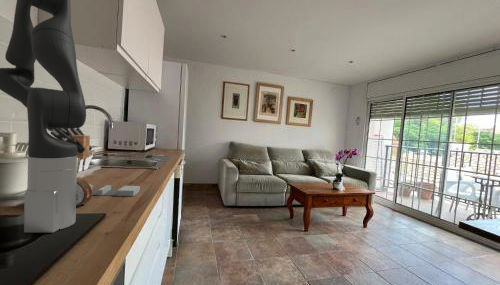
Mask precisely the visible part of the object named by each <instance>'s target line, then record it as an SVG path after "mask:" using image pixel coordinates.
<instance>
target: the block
mask: <svg viewBox="0 0 500 285" xmlns="http://www.w3.org/2000/svg"><path fill="white" fill-rule="evenodd" d="M74 138H75V139H76V140H77V142H79V143H80V144H81V145H82V146H83V147H84V148H85V151H84V152H82V153H79V152H78V151H77V159H87V158H89V157H90V151H89V146H91V145H90V144H91V143H90V142H91V141H90V140H91V139H90V138H91V136H90V135H85V134H84V135H74Z"/></svg>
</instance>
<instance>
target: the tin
mask: <svg viewBox="0 0 500 285" xmlns="http://www.w3.org/2000/svg"><path fill="white" fill-rule="evenodd" d="M90 185H91V184H90V183H89V182H88V181H86V180H85V179H83V178H79V177H77V183H76V207H79V206H82V205H85V204H87V203H88V202H89V201H90V200H91V199H92V196H93V195H92V189H91V186H90Z"/></svg>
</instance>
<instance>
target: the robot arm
mask: <svg viewBox="0 0 500 285" xmlns="http://www.w3.org/2000/svg"><path fill="white" fill-rule="evenodd" d="M32 7H35V8H37V9H39V10H41V11H43V12H46V13H49V14H50V15H52V17H49V18H48V19H45V20H43V21H41V22H39V23H38V24H36V25H35V26H34V25H33V21H32V17H31V8H32ZM71 15H72V13H71V0H16V5H15V10H14V17H13V26H12V31H11V36H10V40H9V43H8V46H7V49H6V52H5V58H4V59H5V60H6V61H7V62H8V63H9V64H10V65H12V66H14V67H0V90H1V91H2V92H3V93H5V94H7V95H8V96H9V97H10V98H11V97H12V98H13V99H15V100H16V101H18V102H20V103H21V104H22V105H23V106H24V107H25V108H26V109H27V112H26V113H27V123H28V125H27V126H28V127H27V128H28V141H27V142H28V145H27V146H28V147H27V148H28V149H27V181H26V182H27V189H26V190H25V191H24V202H23V204H24V210H23V212H24V213H23V214H24V215H23V233H56V232H58V231H60V230H62V229H66V228H68V227H71V226H72V225H74V224H75V223H76V219H77V218H76V215H77V213H76V212H77V206H76V183H77V178H78V176H77V175H78V174H77V173H78V158H77V151H78V152H79V153H82V152H84V151H85V148H84V147H83V146H82V145H81V144H80V143H79V142H77V140H76V139H75V138H74V135H85V134H84V132H82V129H81V128H82V127H83V126H84V124H85V123H86V119H87V108H86V102H85V101H86V100H85V97H84V93H83V90H82V85H81V82H80V77H79V72H78V64H77V55H76V46H75V45H76V44H75V42H74V36H73V31H72V22H71V21H72V20H71V18H72V16H71ZM36 61H37V62H38V64H39V65H40V66H41V67H42V68H43V69H44V70H45V71H46V72H47V73H48V74H49V75H50V76H51V77H53V79H55V81H56V82H57V84H58V85H59V86H60V87H61V89H62V90H61V89H53V88H46V87H37V86H36V87H31V86H33V84H34V83H35V80H36V79H35V77H36V76H35V63H36ZM49 132H50V133H49ZM92 149H93V147H92V146H91V145H90V146H89V152H90V151H91V150H92ZM59 229H60V230H59Z"/></svg>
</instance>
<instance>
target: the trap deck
mask: <svg viewBox="0 0 500 285" xmlns="http://www.w3.org/2000/svg"><path fill="white" fill-rule="evenodd" d="M89 185H90V186H91V189H92V196H101V197H103V196H105V197H107V196H109V197H113V196H114V197H134V196H136V195H137V194H138V193H139V192H140V189H141V186H140V185H124V186H122V187H121V188H119V189H112V185H111V184H110V185H109V184H107V185H105V186H103V187H101V188H99V189H93V187H94V185H93V184H89Z"/></svg>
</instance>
